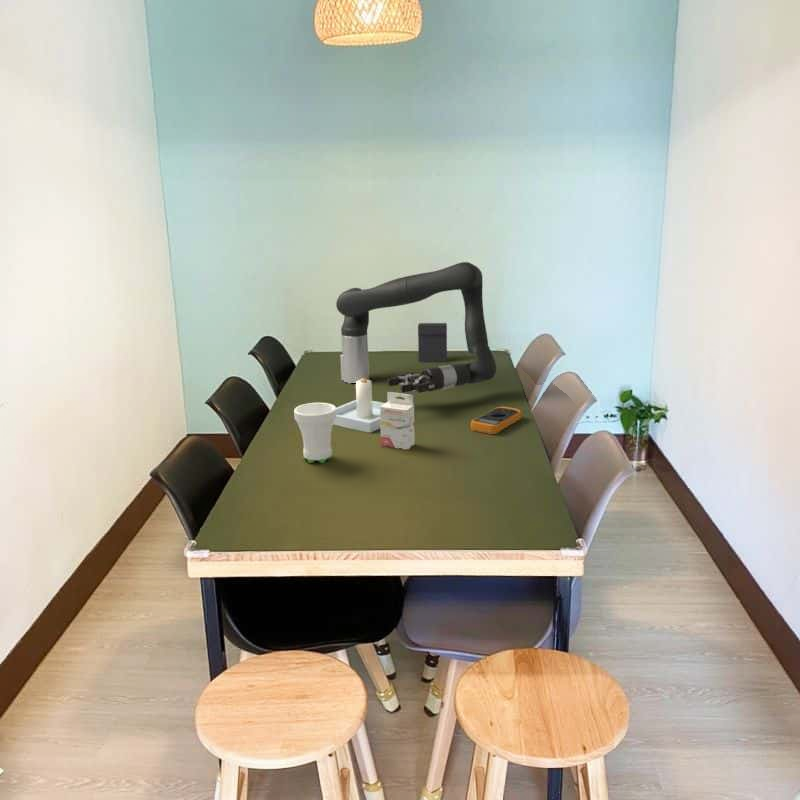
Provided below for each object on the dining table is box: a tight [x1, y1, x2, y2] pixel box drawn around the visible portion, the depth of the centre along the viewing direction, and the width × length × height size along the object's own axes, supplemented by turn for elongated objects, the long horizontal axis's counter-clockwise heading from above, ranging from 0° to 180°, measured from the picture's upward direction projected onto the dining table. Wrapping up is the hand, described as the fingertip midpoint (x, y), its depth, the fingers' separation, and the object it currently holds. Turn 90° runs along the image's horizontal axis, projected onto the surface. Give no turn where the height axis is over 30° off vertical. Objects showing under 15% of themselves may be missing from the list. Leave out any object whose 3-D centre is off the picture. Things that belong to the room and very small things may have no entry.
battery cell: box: [355, 378, 373, 419], centre depth 241 cm, size 5×5×12 cm
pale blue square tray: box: [333, 399, 386, 434], centre depth 243 cm, size 18×18×3 cm
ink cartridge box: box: [380, 391, 415, 450], centre depth 218 cm, size 9×5×15 cm, turn 65°
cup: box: [293, 402, 337, 464], centre depth 210 cm, size 11×11×14 cm
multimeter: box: [470, 406, 522, 435], centre depth 235 cm, size 9×18×3 cm, turn 144°
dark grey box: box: [417, 322, 448, 363], centre depth 308 cm, size 11×4×15 cm, turn 84°
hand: (394, 385), depth 245 cm, fingers open, 8 cm apart
